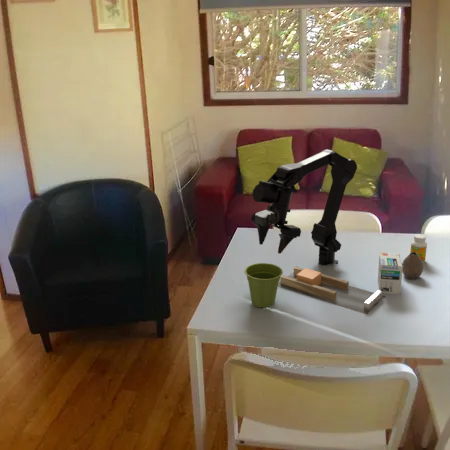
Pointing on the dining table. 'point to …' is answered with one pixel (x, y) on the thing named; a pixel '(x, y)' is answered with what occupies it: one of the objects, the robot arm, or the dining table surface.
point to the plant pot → (263, 283)
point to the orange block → (309, 276)
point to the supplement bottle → (419, 246)
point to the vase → (412, 266)
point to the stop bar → (372, 300)
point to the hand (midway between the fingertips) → (269, 248)
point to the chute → (329, 291)
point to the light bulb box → (390, 273)
